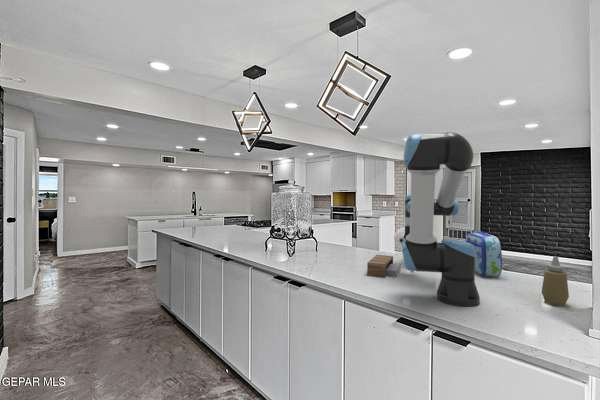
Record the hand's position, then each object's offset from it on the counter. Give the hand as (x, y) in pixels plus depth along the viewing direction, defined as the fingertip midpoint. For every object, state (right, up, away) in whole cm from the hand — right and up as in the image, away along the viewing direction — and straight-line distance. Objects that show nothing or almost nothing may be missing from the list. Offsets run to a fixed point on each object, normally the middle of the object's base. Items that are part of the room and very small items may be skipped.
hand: (412, 271), depth 160 cm
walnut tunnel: (-14, -2, +7) cm, 16 cm away
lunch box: (+38, -2, +5) cm, 39 cm away
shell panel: (-11, -2, +6) cm, 13 cm away
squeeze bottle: (+39, -3, -41) cm, 57 cm away
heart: (+10, -1, +25) cm, 26 cm away
